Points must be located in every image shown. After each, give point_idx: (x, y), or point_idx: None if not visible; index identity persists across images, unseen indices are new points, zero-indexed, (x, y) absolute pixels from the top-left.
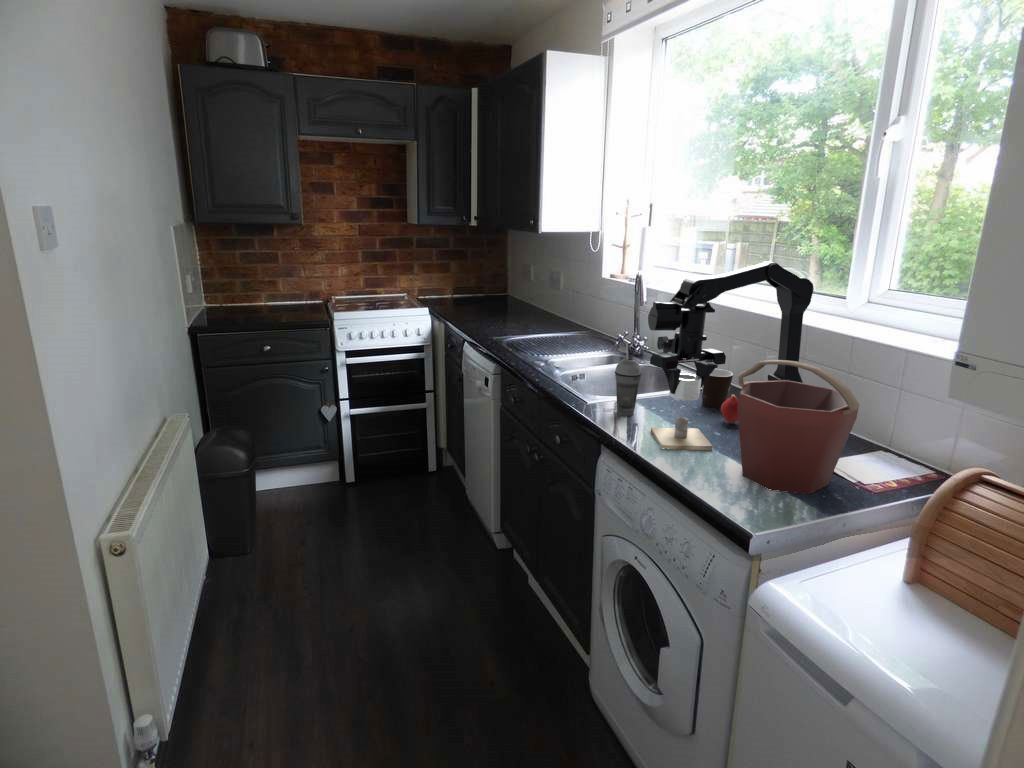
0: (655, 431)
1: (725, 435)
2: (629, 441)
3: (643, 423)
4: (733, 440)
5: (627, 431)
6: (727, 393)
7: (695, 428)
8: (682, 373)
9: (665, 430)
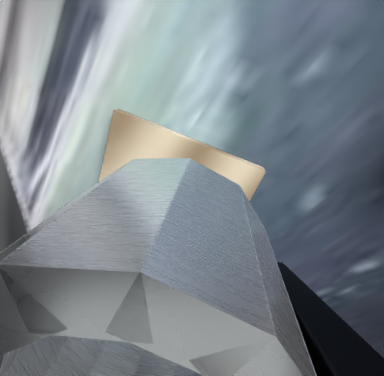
0: (113, 147)
1: (322, 218)
2: (30, 160)
3: (130, 16)
4: (309, 251)
5: (44, 83)
6: None
7: (257, 169)
8: (158, 310)
9: (148, 151)
